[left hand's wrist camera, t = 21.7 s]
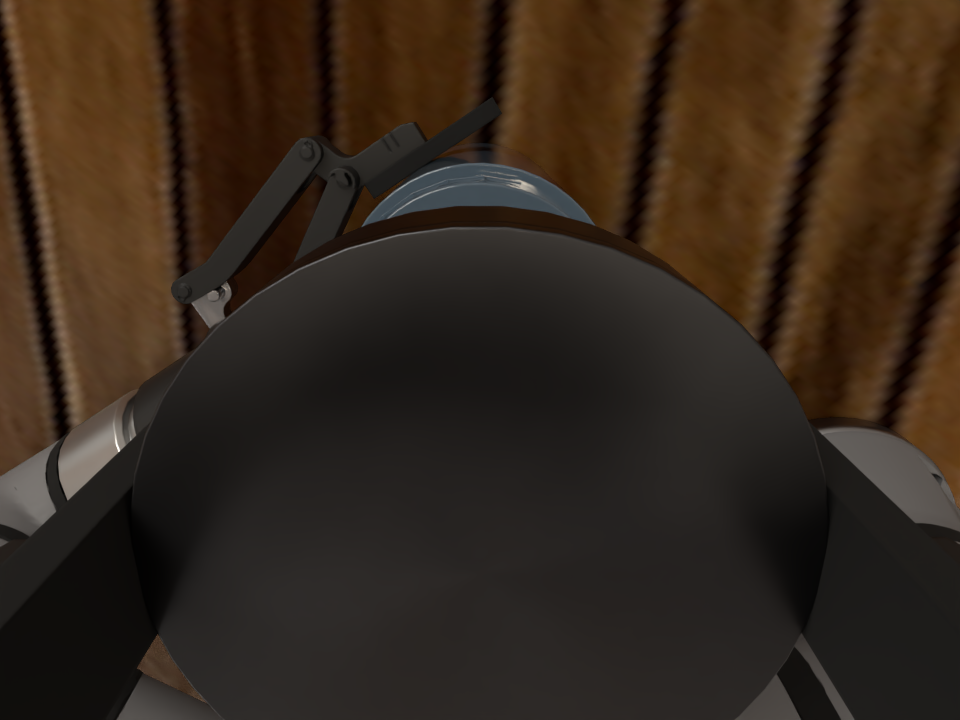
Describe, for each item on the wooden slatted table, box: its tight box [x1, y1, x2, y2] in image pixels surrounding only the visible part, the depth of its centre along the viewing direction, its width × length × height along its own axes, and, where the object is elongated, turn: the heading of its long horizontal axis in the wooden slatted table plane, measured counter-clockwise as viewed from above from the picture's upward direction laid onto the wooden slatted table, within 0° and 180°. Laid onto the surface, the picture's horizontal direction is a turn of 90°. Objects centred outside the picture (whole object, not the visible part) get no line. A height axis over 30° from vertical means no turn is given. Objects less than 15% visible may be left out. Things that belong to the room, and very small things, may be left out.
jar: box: [361, 143, 596, 227], centre depth 30 cm, size 10×10×16 cm
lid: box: [130, 206, 829, 720], centre depth 11 cm, size 11×11×2 cm
